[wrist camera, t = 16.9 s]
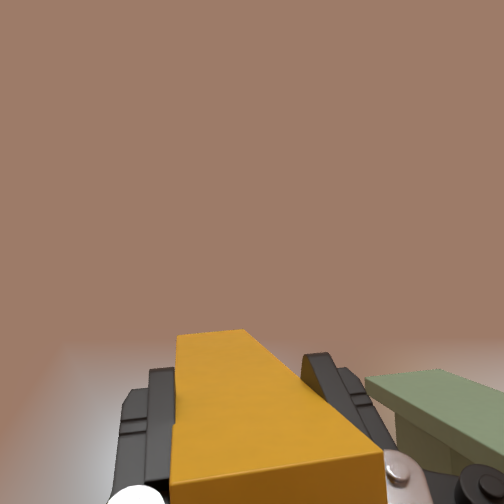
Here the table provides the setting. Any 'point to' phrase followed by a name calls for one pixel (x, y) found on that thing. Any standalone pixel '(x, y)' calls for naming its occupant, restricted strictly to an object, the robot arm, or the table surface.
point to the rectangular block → (261, 432)
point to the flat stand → (443, 419)
